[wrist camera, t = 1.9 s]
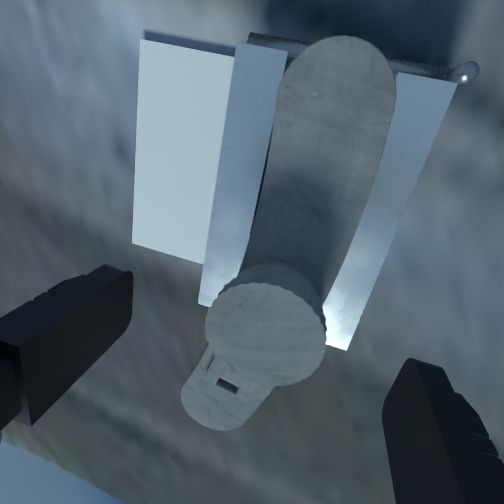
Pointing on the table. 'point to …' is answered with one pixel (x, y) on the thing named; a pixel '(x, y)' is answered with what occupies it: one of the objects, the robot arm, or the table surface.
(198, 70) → the mat
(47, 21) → the table surface
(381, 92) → the hip flask
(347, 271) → the vise
